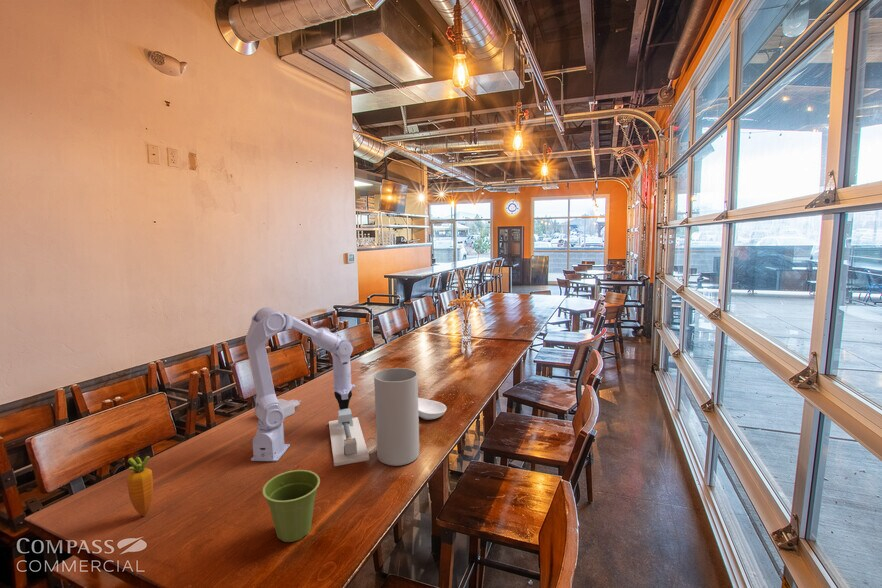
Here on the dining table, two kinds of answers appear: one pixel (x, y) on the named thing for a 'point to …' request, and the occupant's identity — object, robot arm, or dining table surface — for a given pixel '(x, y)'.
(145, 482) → the carrot
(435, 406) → the spoon rest
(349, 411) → the light grey sliding block
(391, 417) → the cylinder vase
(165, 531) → the dining table surface
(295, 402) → the charger
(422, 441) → the dining table surface
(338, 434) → the white slide rail base
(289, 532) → the plant pot
